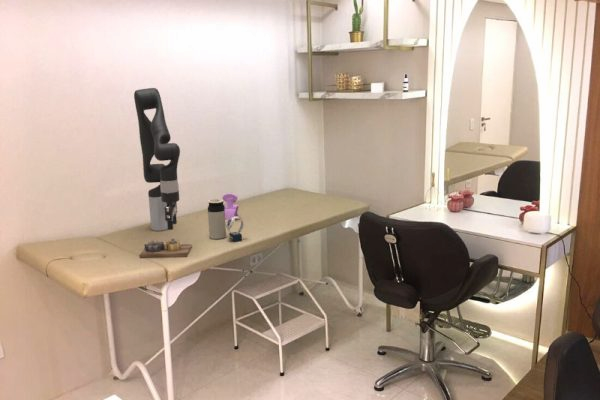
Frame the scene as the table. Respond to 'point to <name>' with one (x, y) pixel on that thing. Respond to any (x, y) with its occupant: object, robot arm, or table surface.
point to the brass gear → (173, 246)
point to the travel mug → (216, 219)
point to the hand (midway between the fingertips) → (172, 226)
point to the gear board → (164, 250)
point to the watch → (234, 235)
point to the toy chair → (230, 205)
